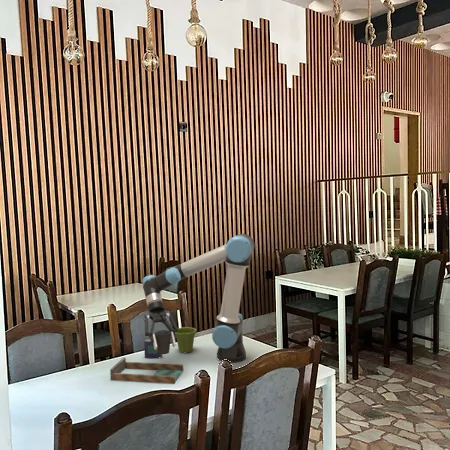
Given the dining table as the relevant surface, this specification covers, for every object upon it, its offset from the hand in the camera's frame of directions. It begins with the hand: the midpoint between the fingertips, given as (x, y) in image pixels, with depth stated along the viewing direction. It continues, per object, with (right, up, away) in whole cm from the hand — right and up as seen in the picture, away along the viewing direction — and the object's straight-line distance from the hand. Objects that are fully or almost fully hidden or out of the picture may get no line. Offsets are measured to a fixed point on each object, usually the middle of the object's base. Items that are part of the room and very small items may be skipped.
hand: (165, 346), depth 227 cm
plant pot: (+6, -12, +39) cm, 42 cm away
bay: (-9, -15, +6) cm, 18 cm away
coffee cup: (-1, -4, +3) cm, 5 cm away
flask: (-10, -13, +30) cm, 34 cm away
